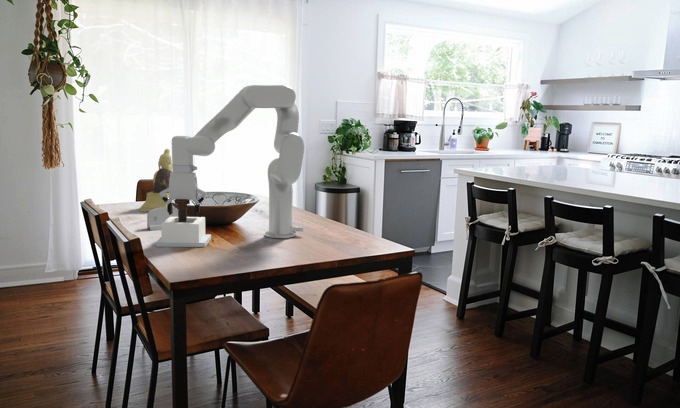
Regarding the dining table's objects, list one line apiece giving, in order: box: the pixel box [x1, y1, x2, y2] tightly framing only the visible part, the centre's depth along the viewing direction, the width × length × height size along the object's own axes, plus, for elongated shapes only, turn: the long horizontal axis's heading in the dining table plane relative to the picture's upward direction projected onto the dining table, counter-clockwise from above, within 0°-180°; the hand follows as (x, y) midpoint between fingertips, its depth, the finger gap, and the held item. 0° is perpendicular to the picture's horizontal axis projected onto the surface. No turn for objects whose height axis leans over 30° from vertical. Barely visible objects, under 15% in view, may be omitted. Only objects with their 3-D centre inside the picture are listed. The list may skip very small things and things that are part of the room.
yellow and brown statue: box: [139, 148, 172, 212], centre depth 275 cm, size 28×13×30 cm, turn 174°
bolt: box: [175, 200, 191, 223], centre depth 205 cm, size 6×5×15 cm
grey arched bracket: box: [146, 207, 179, 232], centre depth 231 cm, size 17×5×10 cm, turn 124°
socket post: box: [155, 216, 212, 248], centre depth 206 cm, size 18×14×8 cm
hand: (183, 214), depth 205 cm, fingers open, 9 cm apart
